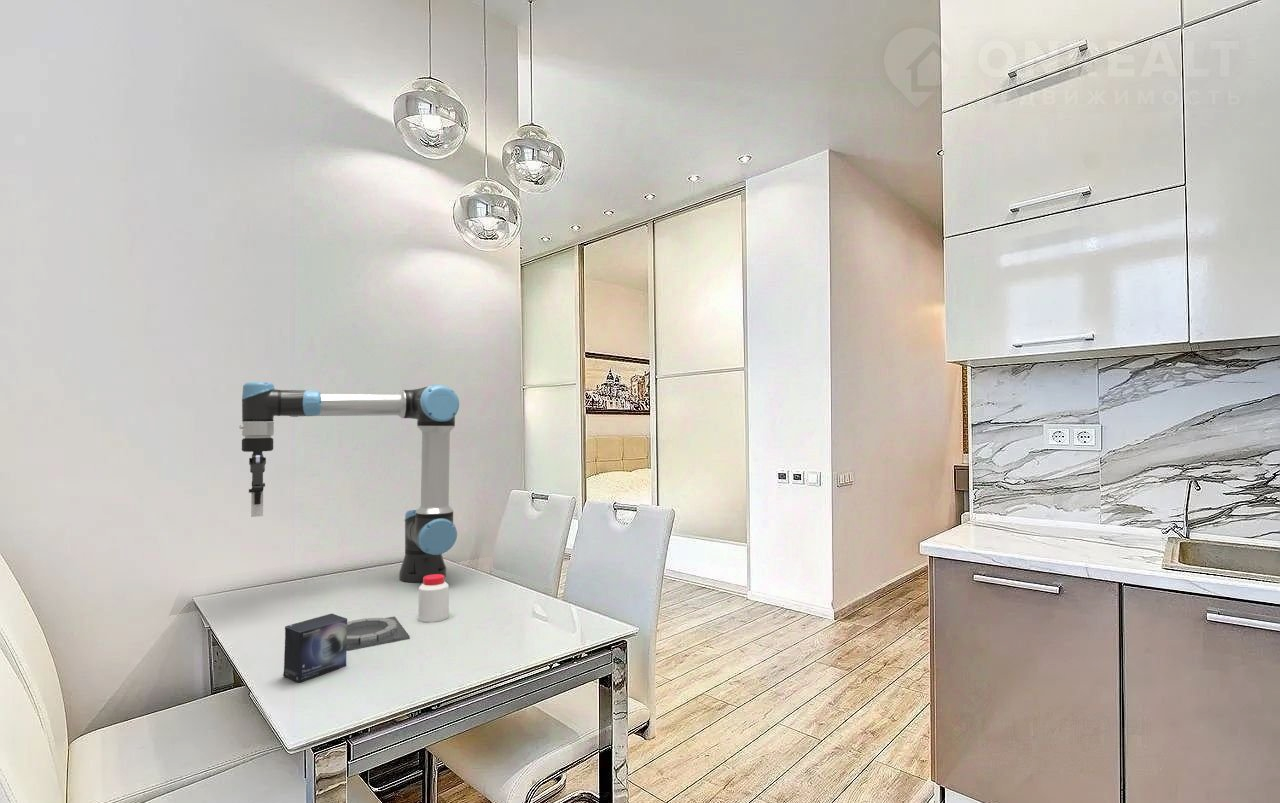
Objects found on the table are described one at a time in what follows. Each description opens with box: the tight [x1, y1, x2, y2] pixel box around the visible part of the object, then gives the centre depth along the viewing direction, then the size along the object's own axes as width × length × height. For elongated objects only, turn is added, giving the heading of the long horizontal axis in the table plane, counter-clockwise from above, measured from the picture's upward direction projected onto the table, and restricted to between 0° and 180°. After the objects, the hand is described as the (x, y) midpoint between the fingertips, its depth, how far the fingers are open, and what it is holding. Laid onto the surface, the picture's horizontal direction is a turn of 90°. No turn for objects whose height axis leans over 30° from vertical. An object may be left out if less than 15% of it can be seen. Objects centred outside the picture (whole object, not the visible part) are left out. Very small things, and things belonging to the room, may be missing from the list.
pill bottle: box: [418, 574, 450, 623], centre depth 164 cm, size 8×8×11 cm
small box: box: [282, 613, 348, 683], centre depth 129 cm, size 11×6×10 cm, turn 148°
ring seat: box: [347, 615, 411, 651], centre depth 151 cm, size 18×18×2 cm
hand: (257, 513), depth 170 cm, fingers open, 13 cm apart
